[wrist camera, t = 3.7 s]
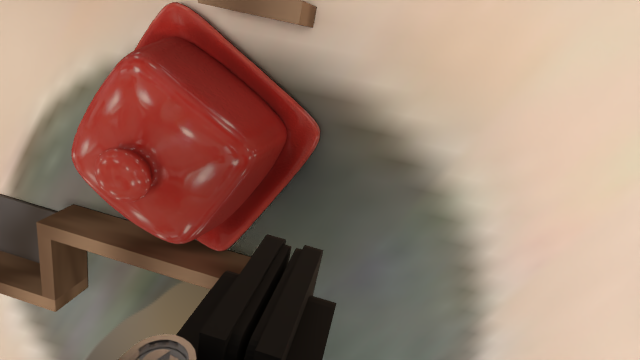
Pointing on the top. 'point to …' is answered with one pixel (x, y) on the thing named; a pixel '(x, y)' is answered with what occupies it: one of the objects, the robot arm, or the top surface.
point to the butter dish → (191, 135)
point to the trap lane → (109, 226)
